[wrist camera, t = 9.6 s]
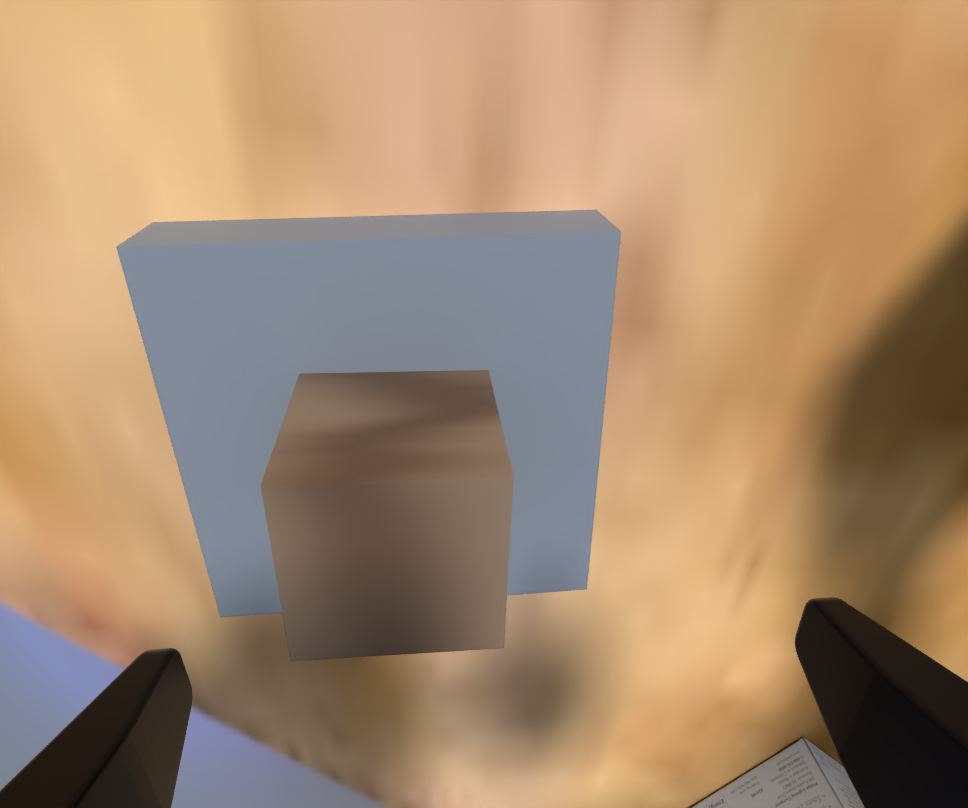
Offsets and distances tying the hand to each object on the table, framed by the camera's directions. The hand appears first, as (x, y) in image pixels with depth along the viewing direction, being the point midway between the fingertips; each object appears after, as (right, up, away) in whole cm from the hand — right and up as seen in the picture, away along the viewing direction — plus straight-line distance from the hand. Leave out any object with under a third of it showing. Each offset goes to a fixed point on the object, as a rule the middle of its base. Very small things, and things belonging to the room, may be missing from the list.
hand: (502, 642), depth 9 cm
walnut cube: (-3, +2, +9) cm, 10 cm away
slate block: (-3, +4, +12) cm, 13 cm away
